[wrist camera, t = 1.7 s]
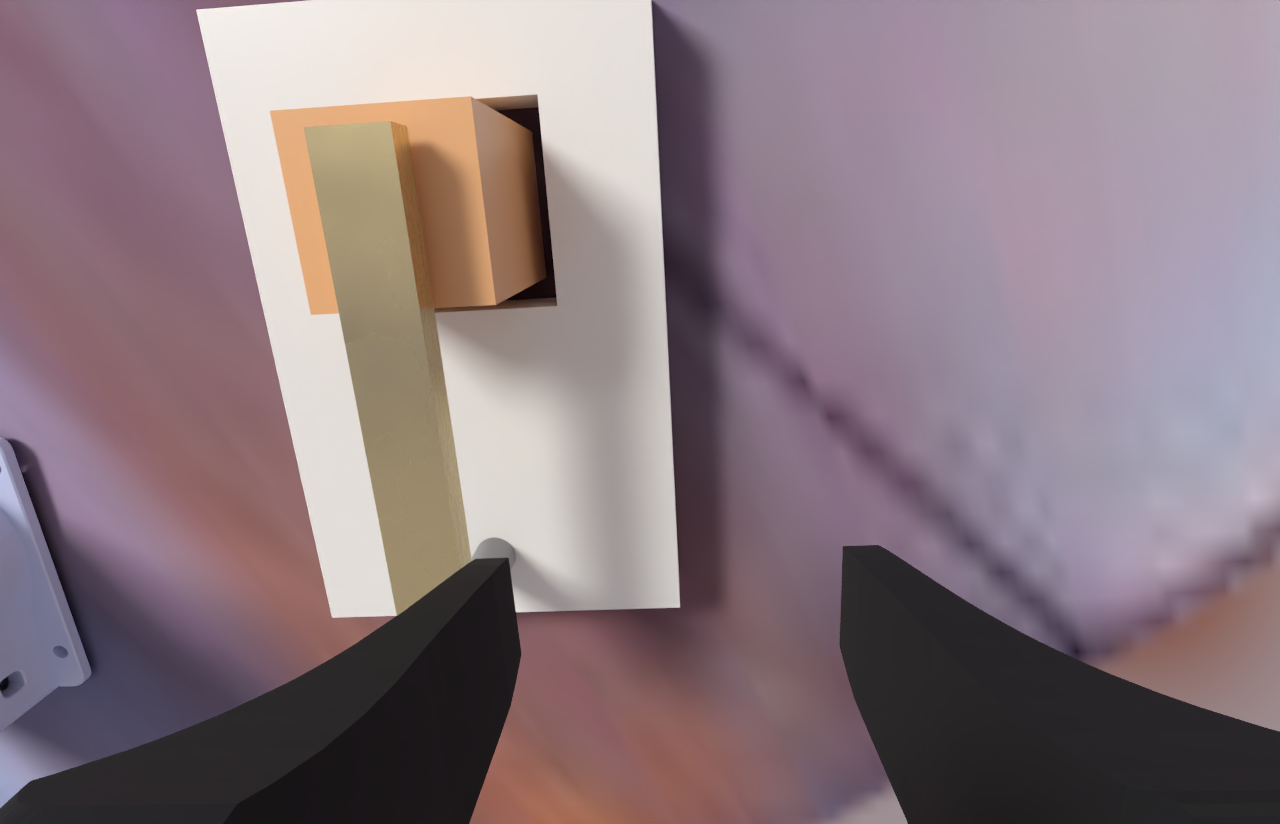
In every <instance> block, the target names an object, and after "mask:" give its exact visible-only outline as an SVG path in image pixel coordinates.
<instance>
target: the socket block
mask: <svg viewBox="0 0 1280 824" xmlns="http://www.w3.org/2000/svg"><path fill="white" fill-rule="evenodd" d="M196 11H197V15H198V20H199V24H200V29H201V33H202V38H203V42H204V47H205V51H206V56H207V60H208V65H209V69H210V73H211V78H212V82H213V87H214V91H215V96H216V100H217V105H218V109H219V114H220V118H221V123H222V127H223V132H224V136H225V141H226V145H227V150H228V154H229V158H230V163H231V167H232V172H233V176H234V181H235V185H236V190H237V194H238V199H239V203H240V208H241V212H242V217H243V221H244V226H245V230H246V235H247V239H248V243H249V248H250V252H251V257H252V261H253V266H254V270H255V275H256V279H257V284H258V288H259V293H260V297H261V302H262V306H263V311H264V315H265V320H266V324H267V328H268V333H269V337H270V342H271V346H272V351H273V355H274V360H275V364H276V369H277V373H278V378H279V382H280V387H281V391H282V396H283V400H284V405H285V409H286V413H287V418H288V422H289V427H290V431H291V436H292V440H293V445H294V449H295V454H296V458H297V463H298V467H299V472H300V476H301V481H302V485H303V489H304V494H305V498H306V503H307V507H308V512H309V516H310V521H311V525H312V530H313V534H314V539H315V543H316V548H317V552H318V557H319V561H320V566H321V570H322V574H323V579H324V583H325V588H326V592H327V597H328V601H329V606H330V610H331V615H332V618H336V617H370V616H397V615H396V609H395V604H394V599H393V594H392V588H391V583H390V578H389V573H388V567H387V562H386V557H385V552H384V547H383V541H382V536H381V531H380V526H379V520H378V515H377V510H376V505H375V499H374V494H373V489H372V484H371V478H370V473H369V468H368V463H367V457H366V452H365V447H364V442H363V436H362V431H361V426H360V421H359V416H358V410H357V405H356V400H355V395H354V389H353V384H352V379H351V374H350V368H349V363H348V358H347V353H346V347H345V342H344V337H343V332H342V326H341V321H340V316H339V313H337V314H318V315H311V313H310V308H309V303H308V298H307V293H306V288H305V283H304V278H303V273H302V268H301V263H300V259H299V254H298V249H297V244H296V239H295V234H294V229H293V224H292V219H291V214H290V209H289V204H288V199H287V194H286V189H285V184H284V179H283V174H282V169H281V164H280V159H279V154H278V150H277V145H276V140H275V135H274V130H273V125H272V120H271V115H270V111H273V110H287V109H301V108H315V107H329V106H343V105H356V104H370V103H384V102H398V101H412V100H426V99H440V98H454V97H468V96H471V97H473V98H475V99H476V100H478V101H480V102H481V103H483V104H485V105H487V106H488V107H490V108H492V109H494V110H495V111H496V110H510V109H524V108H538V107H539V117H540V127H541V138H542V148H543V159H544V170H545V180H546V191H547V201H548V212H549V222H550V233H551V243H552V254H553V264H554V275H555V285H556V296H557V298H539V299H521V300H504V301H502V302H501V303H499V304H497V305H487V306H468V307H449V308H434V310H435V316H436V323H437V330H438V337H439V343H440V350H441V357H442V363H443V370H444V377H445V384H446V390H447V397H448V404H449V410H450V417H451V424H452V431H453V437H454V444H455V451H456V458H457V464H458V471H459V478H460V484H461V491H462V498H463V505H464V511H465V518H466V525H467V531H468V538H469V545H470V552H471V558H472V561H473V560H474V559H481V558H509V564H510V572H511V579H512V587H513V595H514V602H515V610H516V612H543V611H578V610H613V609H647V608H680V590H679V564H678V542H677V521H676V500H675V479H674V458H673V437H672V416H671V395H670V374H669V353H668V332H667V311H666V290H665V269H664V248H663V227H662V206H661V185H660V164H659V143H658V122H657V101H656V80H655V59H654V38H653V17H652V0H310V1H298V2H286V3H273V4H261V5H249V6H237V7H225V8H212V9H200V10H196Z"/></svg>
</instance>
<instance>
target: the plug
mask: <svg viewBox="0 0 1280 824" xmlns="http://www.w3.org/2000/svg"><path fill="white" fill-rule="evenodd" d="M270 115H271V120H272V125H273V130H274V135H275V140H276V145H277V150H278V154H279V159H280V164H281V169H282V174H283V179H284V184H285V189H286V194H287V199H288V204H289V209H290V214H291V219H292V224H293V229H294V234H295V239H296V244H297V249H298V254H299V259H300V263H301V268H302V273H303V278H304V283H305V288H306V293H307V298H308V303H309V308H310V313H311V315H318V314H337V313H339V311H338V305H337V300H336V295H335V290H334V284H333V279H332V274H331V269H330V264H329V258H328V253H327V248H326V243H325V237H324V232H323V227H322V222H321V216H320V211H319V206H318V201H317V195H316V190H315V185H314V180H313V174H312V169H311V164H310V159H309V153H308V148H307V143H306V138H305V133H304V127H313V126H327V125H342V124H356V123H370V122H384V121H392V122H395V123H398V124H401V125H404V126H407V128H408V135H409V142H410V148H411V155H412V162H413V169H414V175H415V182H416V189H417V195H418V202H419V209H420V216H421V222H422V229H423V236H424V242H425V249H426V256H427V263H428V269H429V276H430V283H431V290H432V296H433V303H434V308H449V307H468V306H487V305H497V304H499V303H501V302H502V301H504V300H506V299H508V298H510V297H512V296H513V295H515V294H517V293H519V292H521V291H523V290H524V289H526V288H528V287H530V286H532V285H534V284H535V283H537V282H539V281H541V280H543V279H545V278H546V268H545V258H544V248H543V237H542V227H541V217H540V207H539V196H538V186H537V176H536V166H535V155H534V145H533V135H532V131H530V130H528V129H526V128H525V127H523V126H521V125H519V124H518V123H516V122H514V121H513V120H511V119H509V118H507V117H506V116H504V115H502V114H500V113H499V112H497V111H495V110H494V109H492V108H490V107H488V106H487V105H485V104H483V103H481V102H480V101H478V100H476V99H475V98H473V97H471V96H468V97H454V98H440V99H426V100H412V101H398V102H384V103H370V104H356V105H343V106H329V107H315V108H301V109H287V110H273V111H270Z"/></svg>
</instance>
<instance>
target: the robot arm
mask: <svg viewBox="0 0 1280 824" xmlns="http://www.w3.org/2000/svg"><path fill="white" fill-rule="evenodd" d="M0 467H1V468H0V732H1V731H2V730H4V729H5V728H6V727H8V726H9V725H10V724H11V723H13V722H14V721H15V720H16V719H18V718H19V717H20V716H22V715H23V714H24V713H25V712H27V711H28V710H29V709H31V708H32V707H33V706H34V705H36V704H37V703H38V702H39V701H41V700H42V699H43V698H45V697H46V696H47V695H48V694H50V693H51V692H52V691H54V690H55V689H56V688H57V687H66V686H79V685H80V684H82V683H83V682H84V681H86V680H87V679H88V678H89V677H90V675H91V668H90V665H89V662H88V659H87V657H86V654H85V651H84V648H83V645H82V642H81V640H80V637H79V634H78V631H77V628H76V626H75V623H74V620H73V617H72V614H71V611H70V609H69V606H68V603H67V600H66V597H65V595H64V592H63V589H62V586H61V583H60V580H59V578H58V575H57V572H56V569H55V566H54V563H53V561H52V558H51V555H50V552H49V549H48V547H47V544H46V541H45V538H44V535H43V532H42V530H41V527H40V524H39V521H38V518H37V516H36V513H35V510H34V507H33V504H32V501H31V499H30V496H29V493H28V490H27V487H26V484H25V482H24V479H23V476H22V473H21V470H20V468H19V465H18V462H17V459H16V456H15V453H14V451H13V448H12V446H11V445H10V443H9V442H8V441H7V440H5V439H4V438H2V437H0ZM840 649H841V652H842V656H843V660H844V664H845V667H846V671H847V675H848V678H849V681H850V685H851V688H852V692H853V695H854V698H855V701H856V703H857V706H858V708H859V710H860V713H861V715H862V717H863V720H864V722H865V725H866V727H867V729H868V732H869V734H870V736H871V739H872V741H873V743H874V746H875V748H876V750H877V753H878V755H879V757H880V760H881V762H882V764H883V766H884V769H885V771H886V773H887V776H888V778H889V780H890V783H891V785H892V787H893V790H894V792H895V794H896V797H897V799H898V801H899V803H900V806H901V808H902V810H903V813H904V815H905V817H906V819H907V822H908V824H1280V732H1279V731H1275V730H1271V729H1268V728H1264V727H1261V726H1258V725H1255V724H1251V723H1248V722H1245V721H1242V720H1239V719H1235V718H1232V717H1229V716H1226V715H1223V714H1219V713H1216V712H1213V711H1210V710H1207V709H1204V708H1200V707H1197V706H1195V705H1192V704H1189V703H1186V702H1183V701H1180V700H1177V699H1174V698H1171V697H1169V696H1166V695H1163V694H1160V693H1158V692H1154V691H1152V690H1150V689H1147V688H1145V687H1142V686H1139V685H1137V684H1134V683H1132V682H1129V681H1127V680H1124V679H1121V678H1119V677H1116V676H1114V675H1111V674H1109V673H1106V672H1104V671H1102V670H1099V669H1097V668H1095V667H1092V666H1090V665H1088V664H1085V663H1083V662H1081V661H1079V660H1077V659H1074V658H1072V657H1070V656H1068V655H1066V654H1064V653H1062V652H1060V651H1057V650H1055V649H1053V648H1051V647H1049V646H1047V645H1045V644H1043V643H1041V642H1039V641H1037V640H1035V639H1033V638H1031V637H1029V636H1027V635H1025V634H1023V633H1021V632H1019V631H1017V630H1016V629H1014V628H1012V627H1010V626H1008V625H1007V624H1005V623H1003V622H1001V621H1000V620H998V619H996V618H994V617H992V616H991V615H989V614H987V613H985V612H984V611H982V610H980V609H979V608H977V607H975V606H974V605H972V604H970V603H969V602H967V601H965V600H964V599H962V598H960V597H959V596H957V595H956V594H954V593H953V592H951V591H949V590H948V589H946V588H945V587H943V586H942V585H940V584H938V583H937V582H935V581H934V580H932V579H931V578H929V577H928V576H926V575H925V574H923V573H922V572H920V571H919V570H917V569H916V568H914V567H913V566H911V565H910V564H908V563H907V562H905V561H904V560H902V559H901V558H899V557H897V556H896V555H894V554H893V553H891V552H890V551H888V550H886V549H884V548H883V547H881V546H879V545H869V546H843V562H842V593H841V623H840ZM520 658H521V648H520V640H519V633H518V625H517V617H516V610H515V602H514V595H513V587H512V579H511V572H510V564H509V558H481V559H474V560H473V561H471V562H470V563H468V564H467V565H465V566H464V567H462V568H461V569H459V570H458V571H457V572H455V573H454V574H453V575H451V576H450V577H449V578H447V579H446V580H445V581H443V582H442V583H441V584H439V585H438V586H437V587H435V588H434V589H433V590H431V591H430V592H429V593H427V594H426V595H425V596H423V597H422V598H421V599H419V600H418V601H417V602H415V603H414V604H413V605H411V606H410V607H409V608H407V609H406V610H405V611H403V612H402V613H400V614H399V615H397V616H396V617H395V618H393V619H392V620H390V621H389V622H387V623H386V624H384V625H383V626H381V627H380V628H378V629H377V630H375V631H374V632H372V633H371V634H370V635H368V636H367V637H365V638H364V639H362V640H361V641H359V642H358V643H356V644H355V645H353V646H351V647H350V648H348V649H347V650H345V651H343V652H342V653H340V654H338V655H337V656H335V657H333V658H332V659H330V660H328V661H327V662H325V663H323V664H321V665H319V666H318V667H316V668H314V669H312V670H311V671H309V672H307V673H305V674H303V675H302V676H300V677H298V678H296V679H294V680H292V681H290V682H288V683H286V684H284V685H282V686H280V687H278V688H276V689H274V690H272V691H270V692H267V693H265V694H263V695H261V696H259V697H257V698H255V699H253V700H251V701H249V702H246V703H244V704H242V705H240V706H238V707H236V708H234V709H232V710H230V711H227V712H225V713H223V714H220V715H218V716H216V717H213V718H211V719H208V720H206V721H204V722H201V723H199V724H196V725H194V726H192V727H189V728H187V729H184V730H181V731H179V732H176V733H174V734H171V735H168V736H166V737H163V738H160V739H158V740H155V741H153V742H150V743H147V744H144V745H141V746H139V747H136V748H133V749H130V750H127V751H124V752H121V753H118V754H115V755H112V756H109V757H106V758H103V759H100V760H97V761H93V762H90V763H87V764H84V765H81V766H78V767H75V768H72V769H69V770H65V771H62V772H59V773H56V774H53V775H50V776H46V777H43V778H39V779H36V780H33V781H31V782H29V783H28V784H27V785H25V786H24V787H23V788H22V789H21V790H20V791H19V792H18V793H17V794H15V795H14V796H13V797H12V798H11V799H10V800H9V801H8V802H7V803H6V804H4V805H3V806H2V807H1V808H0V824H469V822H470V819H471V817H472V814H473V811H474V808H475V805H476V802H477V800H478V797H479V794H480V791H481V788H482V786H483V783H484V780H485V777H486V774H487V772H488V769H489V766H490V763H491V760H492V758H493V755H494V752H495V749H496V746H497V743H498V741H499V738H500V735H501V732H502V729H503V726H504V723H505V720H506V717H507V714H508V711H509V708H510V706H511V701H512V697H513V692H514V688H515V683H516V678H517V673H518V668H519V663H520Z"/></svg>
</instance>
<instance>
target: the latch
mask: <svg viewBox="0 0 1280 824" xmlns="http://www.w3.org/2000/svg"><path fill="white" fill-rule="evenodd" d="M304 133H305V138H306V143H307V148H308V153H309V159H310V164H311V169H312V174H313V180H314V185H315V190H316V195H317V201H318V206H319V211H320V216H321V222H322V227H323V232H324V237H325V243H326V248H327V253H328V258H329V264H330V269H331V274H332V279H333V284H334V290H335V295H336V300H337V305H338V311H339V316H340V321H341V326H342V332H343V337H344V342H345V347H346V353H347V358H348V363H349V368H350V374H351V379H352V384H353V389H354V395H355V400H356V405H357V410H358V416H359V421H360V426H361V431H362V436H363V442H364V447H365V452H366V457H367V463H368V468H369V473H370V478H371V484H372V489H373V494H374V499H375V505H376V510H377V515H378V520H379V526H380V531H381V536H382V541H383V547H384V552H385V557H386V562H387V567H388V573H389V578H390V583H391V588H392V594H393V599H394V604H395V609H396V615H399V614H400V613H402V612H403V611H405V610H406V609H407V608H409V607H410V606H411V605H413V604H414V603H415V602H417V601H418V600H419V599H421V598H422V597H423V596H425V595H426V594H427V593H429V592H430V591H431V590H433V589H434V588H435V587H437V586H438V585H439V584H441V583H442V582H443V581H445V580H446V579H447V578H449V577H450V576H451V575H453V574H454V573H455V572H457V571H458V570H459V569H461V568H462V567H464V566H465V565H467V564H468V563H470V562H471V561H472V558H471V552H470V545H469V538H468V531H467V525H466V518H465V511H464V505H463V498H462V491H461V484H460V478H459V471H458V464H457V458H456V451H455V444H454V437H453V431H452V424H451V417H450V410H449V404H448V397H447V390H446V384H445V377H444V370H443V363H442V357H441V350H440V343H439V337H438V330H437V323H436V316H435V310H434V303H433V296H432V290H431V283H430V276H429V269H428V263H427V256H426V249H425V242H424V236H423V229H422V222H421V216H420V209H419V202H418V195H417V189H416V182H415V175H414V169H413V162H412V155H411V148H410V142H409V135H408V128H407V126H404V125H401V124H398V123H395V122H392V121H384V122H370V123H356V124H342V125H327V126H313V127H304Z"/></svg>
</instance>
